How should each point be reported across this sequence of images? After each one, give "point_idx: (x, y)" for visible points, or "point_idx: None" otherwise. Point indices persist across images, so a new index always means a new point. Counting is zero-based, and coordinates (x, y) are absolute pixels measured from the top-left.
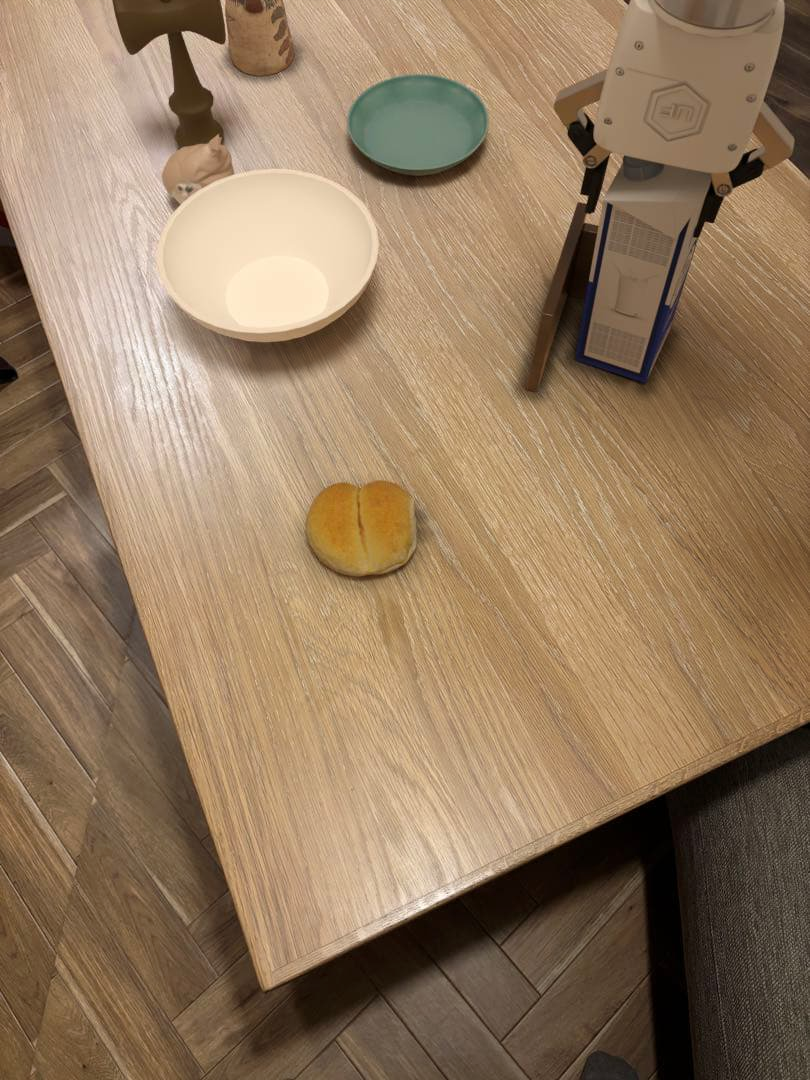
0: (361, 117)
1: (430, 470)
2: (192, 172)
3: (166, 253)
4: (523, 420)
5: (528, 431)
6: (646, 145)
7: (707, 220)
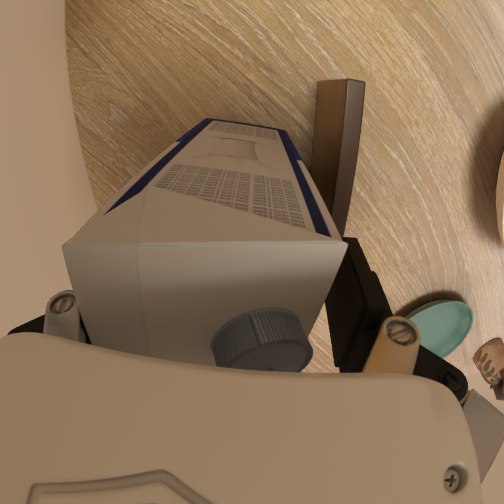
0: (457, 332)
1: None
2: None
3: None
4: (323, 46)
5: (315, 34)
6: (267, 441)
7: None
